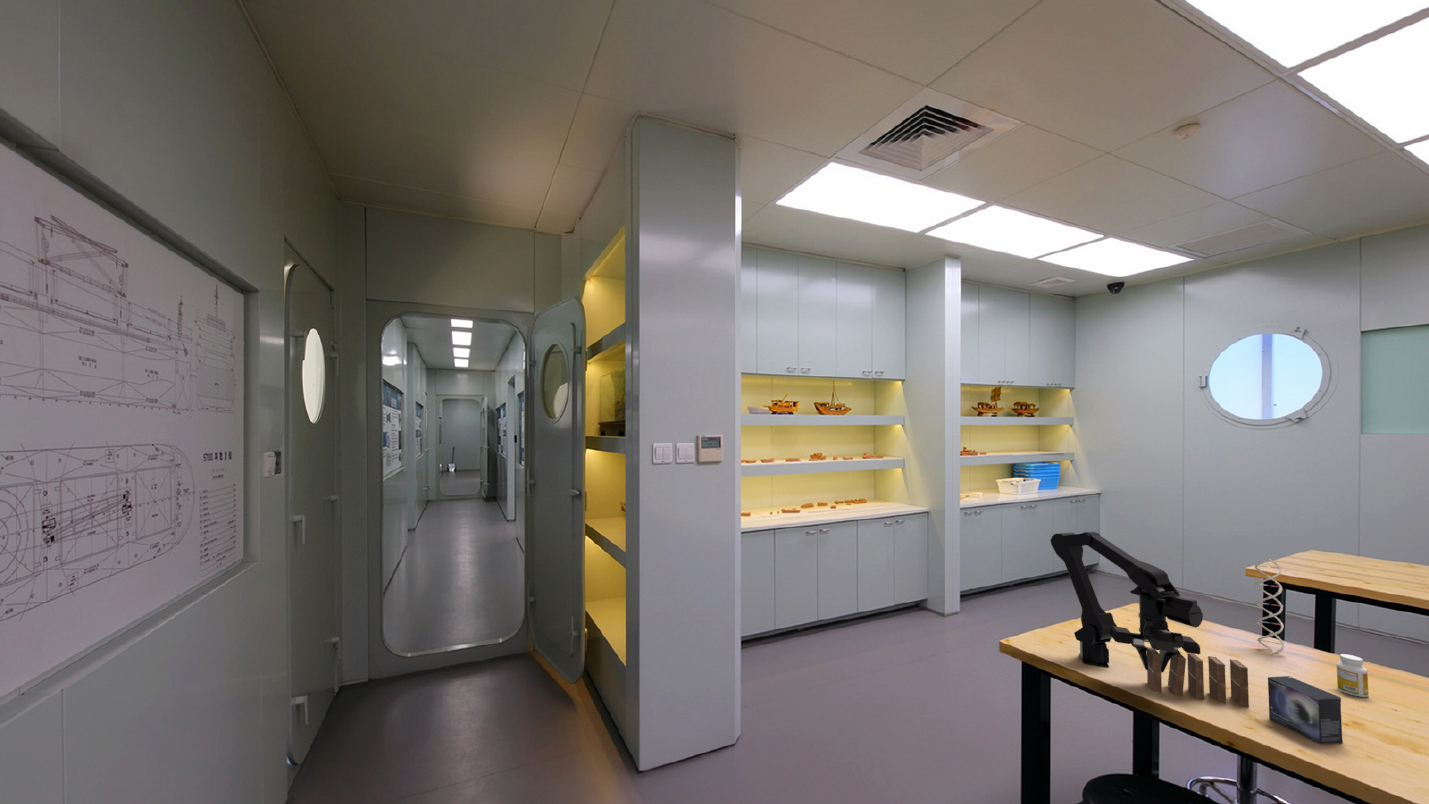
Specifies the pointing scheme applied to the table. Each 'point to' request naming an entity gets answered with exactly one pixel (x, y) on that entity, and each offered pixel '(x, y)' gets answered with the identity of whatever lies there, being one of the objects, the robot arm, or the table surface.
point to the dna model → (1271, 604)
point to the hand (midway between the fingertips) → (1154, 670)
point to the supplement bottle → (1352, 676)
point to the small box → (1305, 709)
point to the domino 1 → (1154, 669)
